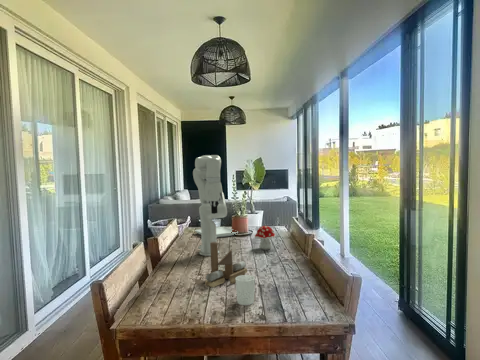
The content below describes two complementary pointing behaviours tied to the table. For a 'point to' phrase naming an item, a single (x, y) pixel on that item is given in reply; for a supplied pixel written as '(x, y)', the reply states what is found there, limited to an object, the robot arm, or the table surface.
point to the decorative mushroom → (265, 237)
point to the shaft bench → (216, 276)
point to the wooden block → (225, 261)
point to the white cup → (245, 289)
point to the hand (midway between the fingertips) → (214, 213)
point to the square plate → (221, 232)
